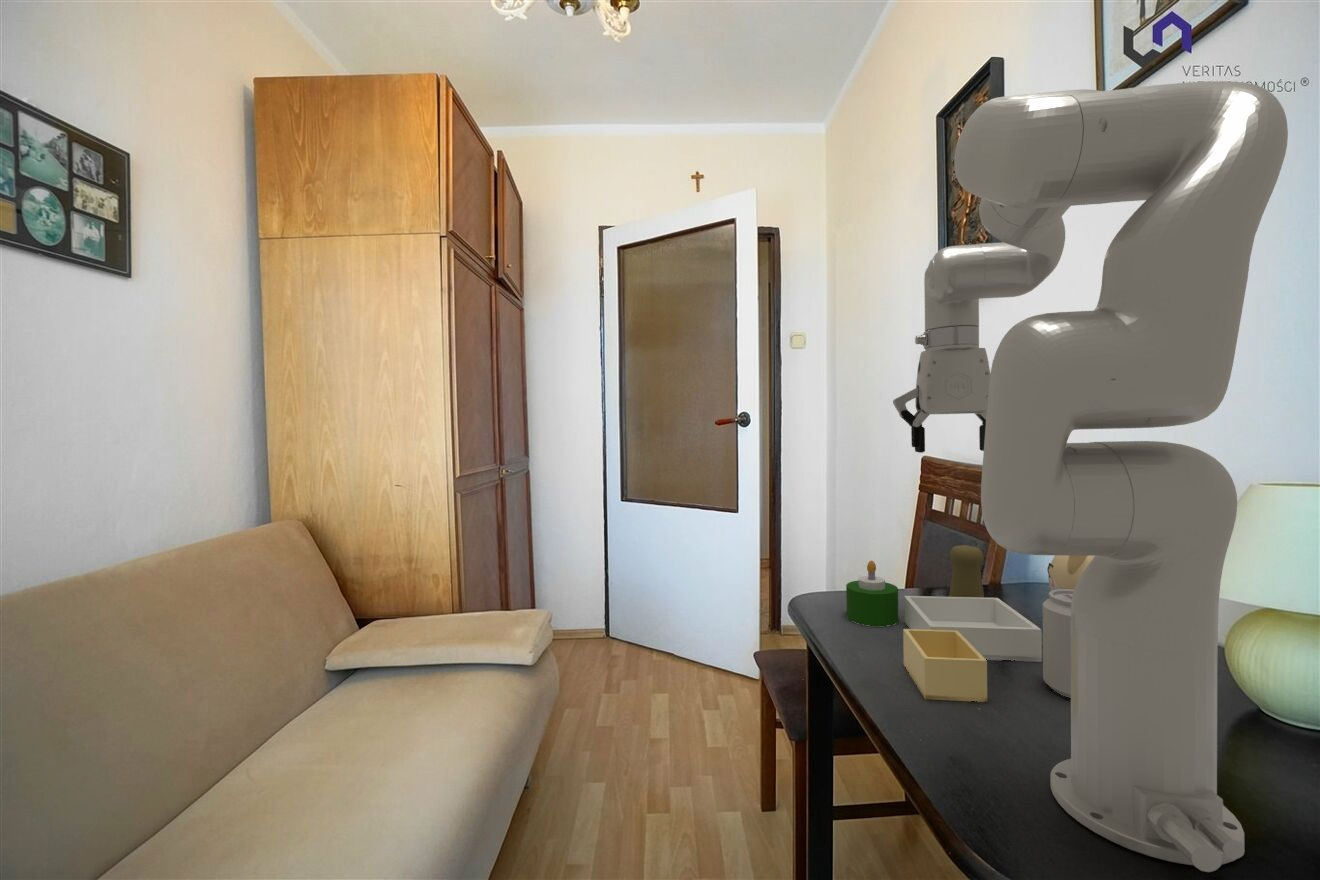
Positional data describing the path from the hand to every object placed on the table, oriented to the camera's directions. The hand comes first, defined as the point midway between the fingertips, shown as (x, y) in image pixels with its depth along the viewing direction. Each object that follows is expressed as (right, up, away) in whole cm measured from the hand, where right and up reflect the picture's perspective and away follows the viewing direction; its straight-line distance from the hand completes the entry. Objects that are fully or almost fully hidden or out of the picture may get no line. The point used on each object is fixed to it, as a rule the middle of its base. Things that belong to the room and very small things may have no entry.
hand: (952, 451), depth 91 cm
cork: (+9, -28, +12) cm, 32 cm away
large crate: (+1, -29, -3) cm, 29 cm away
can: (+6, -29, -20) cm, 36 cm away
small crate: (-9, -29, -16) cm, 35 cm away
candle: (-10, -29, +8) cm, 32 cm away
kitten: (+22, -28, +1) cm, 36 cm away
